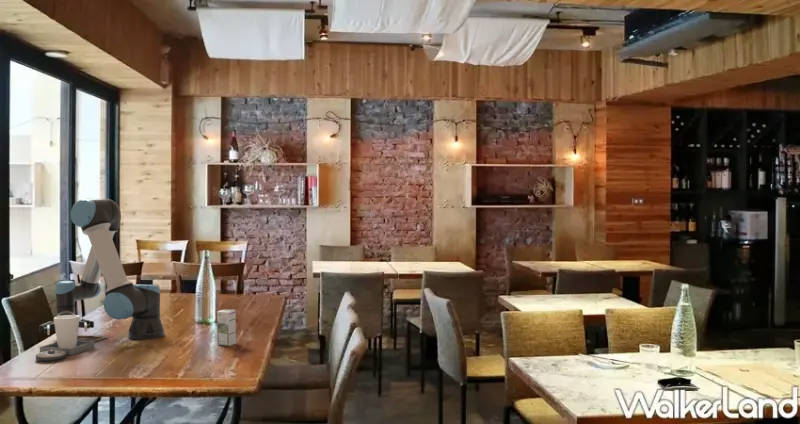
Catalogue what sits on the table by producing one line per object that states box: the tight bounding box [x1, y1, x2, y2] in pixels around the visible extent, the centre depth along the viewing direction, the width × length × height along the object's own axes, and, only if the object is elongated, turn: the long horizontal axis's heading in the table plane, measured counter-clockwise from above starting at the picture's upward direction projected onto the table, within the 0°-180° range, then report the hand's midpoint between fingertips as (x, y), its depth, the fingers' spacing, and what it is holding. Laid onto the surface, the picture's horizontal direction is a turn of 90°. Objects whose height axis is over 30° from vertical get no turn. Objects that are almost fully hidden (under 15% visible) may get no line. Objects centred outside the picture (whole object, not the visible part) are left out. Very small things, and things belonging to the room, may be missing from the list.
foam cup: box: [53, 314, 81, 349], centre depth 284 cm, size 10×9×13 cm
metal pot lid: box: [35, 349, 67, 364], centre depth 270 cm, size 11×11×4 cm
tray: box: [39, 339, 95, 357], centre depth 284 cm, size 14×14×3 cm
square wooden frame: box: [53, 334, 109, 344], centre depth 301 cm, size 15×15×1 cm
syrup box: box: [216, 308, 237, 347], centre depth 296 cm, size 6×6×14 cm
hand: (67, 330), depth 281 cm, fingers open, 13 cm apart
